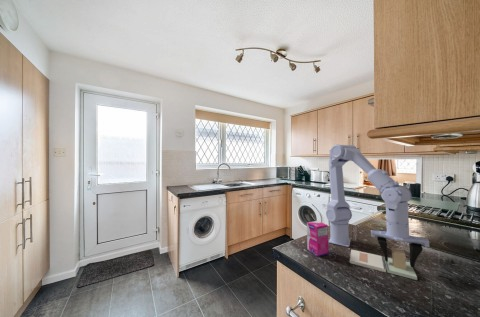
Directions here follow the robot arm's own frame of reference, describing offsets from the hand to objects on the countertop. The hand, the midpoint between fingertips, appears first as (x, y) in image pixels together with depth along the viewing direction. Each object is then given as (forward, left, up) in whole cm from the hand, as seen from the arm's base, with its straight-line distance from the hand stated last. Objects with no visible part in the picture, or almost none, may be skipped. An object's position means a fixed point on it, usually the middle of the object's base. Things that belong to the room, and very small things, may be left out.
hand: (398, 263), depth 60 cm
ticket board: (0, -9, -2) cm, 9 cm away
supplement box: (+3, -25, -2) cm, 25 cm away
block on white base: (0, 0, -2) cm, 2 cm away
